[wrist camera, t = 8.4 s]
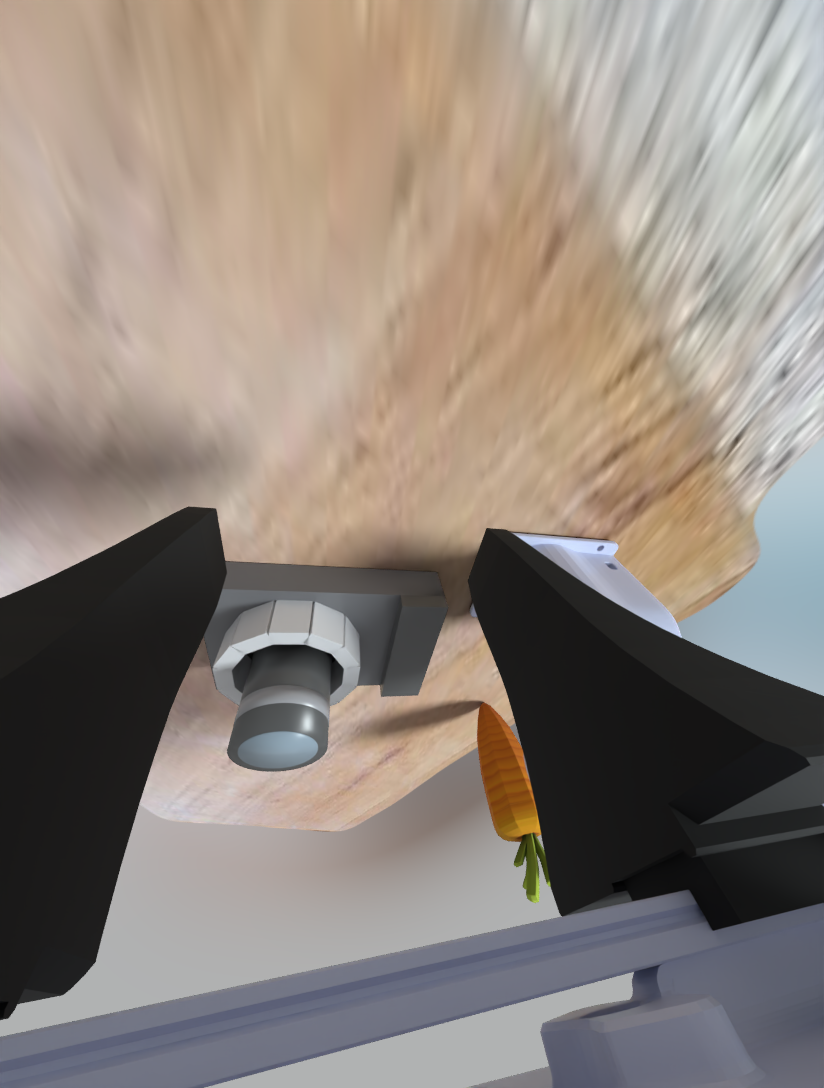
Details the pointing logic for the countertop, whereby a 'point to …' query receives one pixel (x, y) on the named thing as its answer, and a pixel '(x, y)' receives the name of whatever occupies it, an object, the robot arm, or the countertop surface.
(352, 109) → the countertop surface
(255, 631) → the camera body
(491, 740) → the carrot
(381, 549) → the countertop surface
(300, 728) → the lens
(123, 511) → the countertop surface
